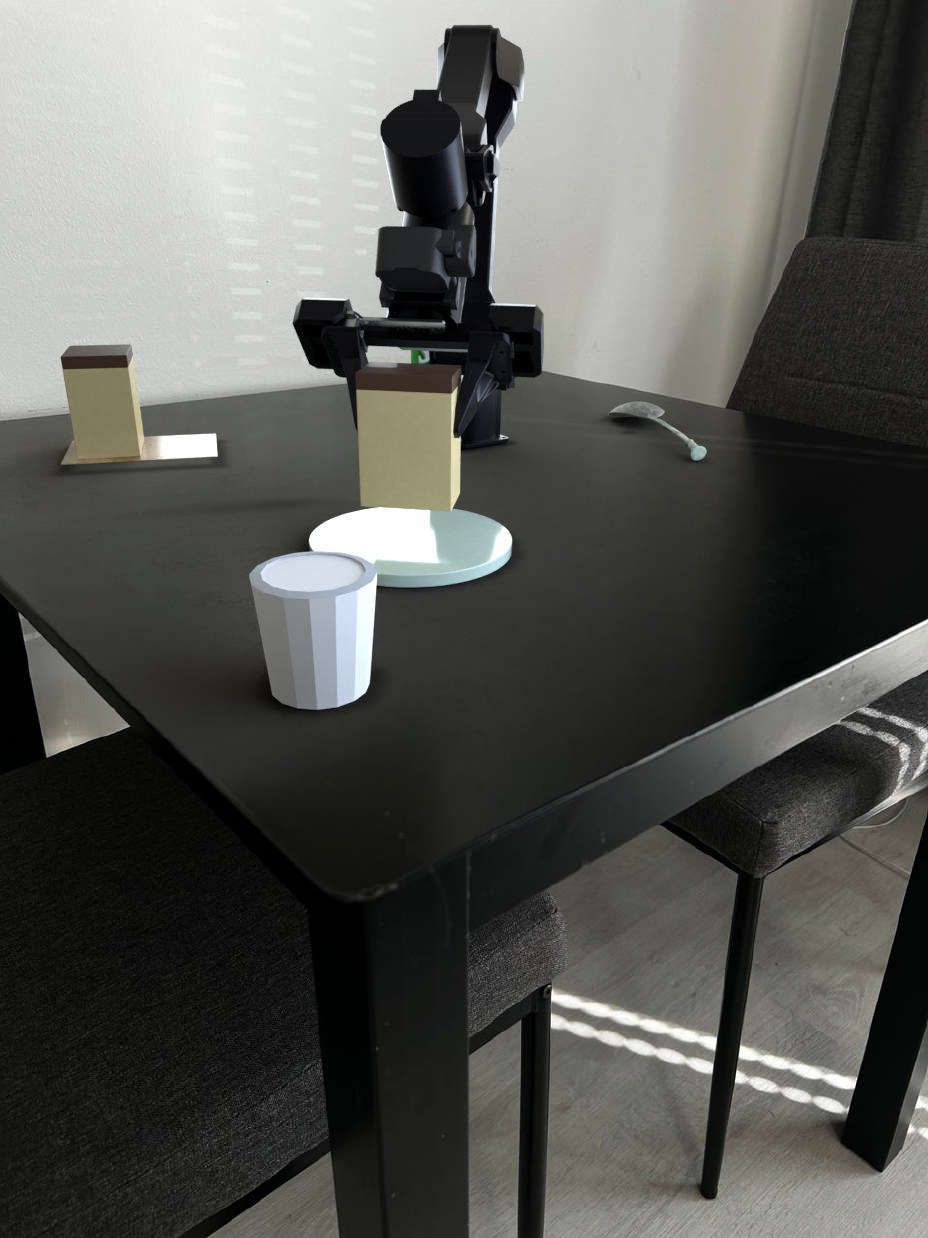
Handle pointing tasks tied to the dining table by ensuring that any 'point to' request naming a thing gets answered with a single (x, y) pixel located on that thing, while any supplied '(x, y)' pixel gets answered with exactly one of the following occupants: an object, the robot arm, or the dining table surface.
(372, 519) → the plate
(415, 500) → the cake slice
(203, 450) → the cake board
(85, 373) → the cake loaf
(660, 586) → the dining table surface
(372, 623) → the shot glass
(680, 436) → the soupspoon
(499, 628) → the dining table surface
